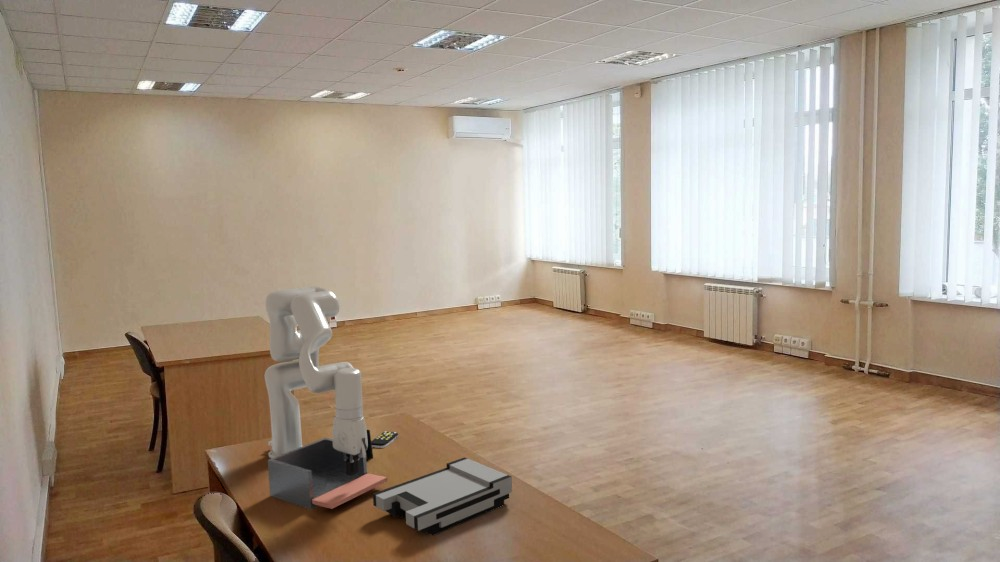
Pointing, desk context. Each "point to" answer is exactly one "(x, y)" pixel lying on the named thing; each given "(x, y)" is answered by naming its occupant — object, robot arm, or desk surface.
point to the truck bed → (309, 473)
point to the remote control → (384, 439)
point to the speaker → (369, 446)
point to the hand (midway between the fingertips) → (352, 473)
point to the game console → (446, 496)
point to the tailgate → (349, 491)
